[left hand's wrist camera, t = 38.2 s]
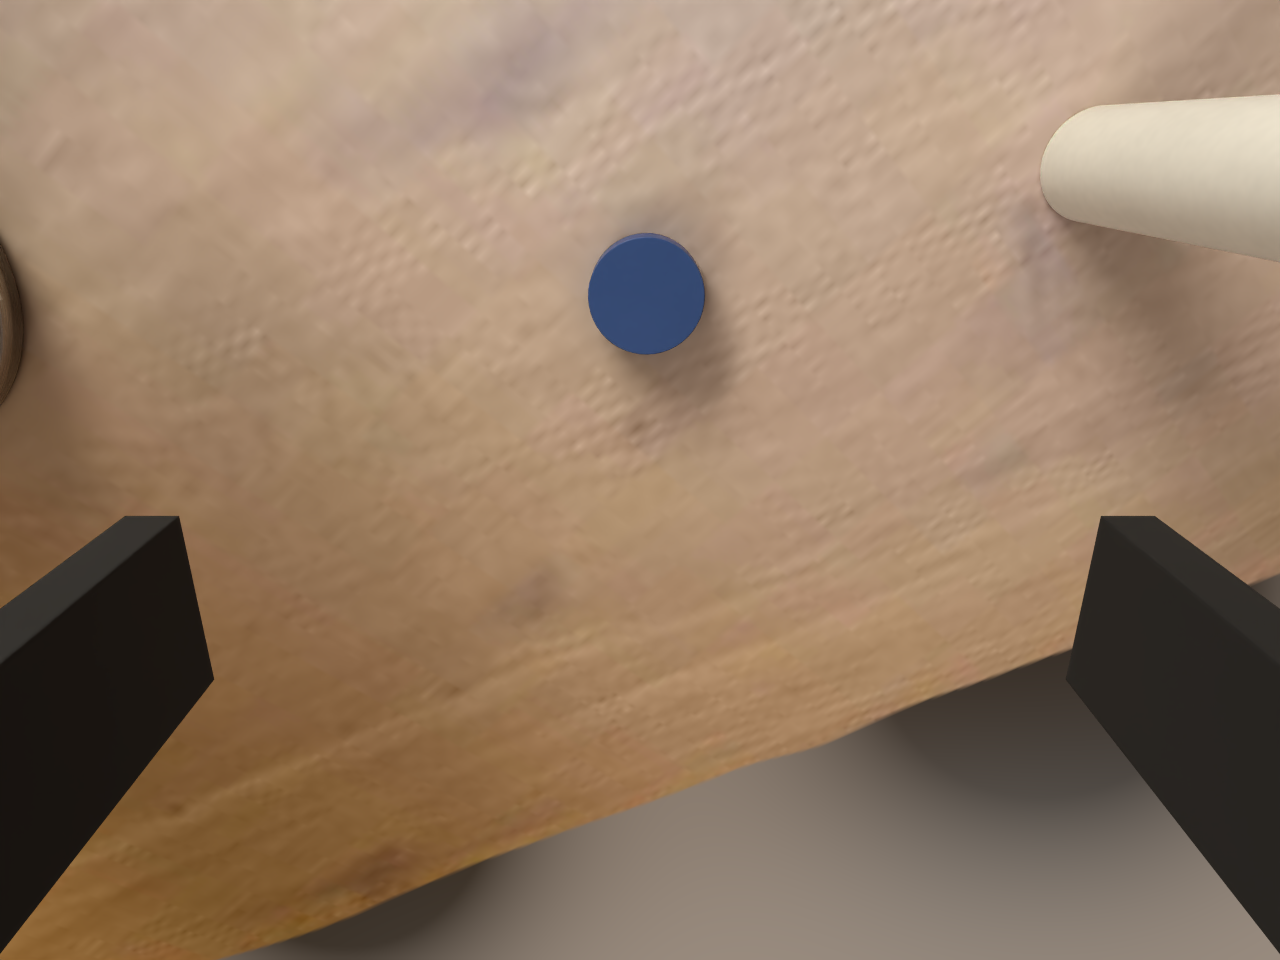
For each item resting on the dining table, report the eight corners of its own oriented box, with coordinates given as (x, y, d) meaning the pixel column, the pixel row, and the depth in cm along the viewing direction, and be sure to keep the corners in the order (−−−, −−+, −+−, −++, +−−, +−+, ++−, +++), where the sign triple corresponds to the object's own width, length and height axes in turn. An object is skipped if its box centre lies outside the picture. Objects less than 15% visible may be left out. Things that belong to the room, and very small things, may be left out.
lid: (566, 292, 38) (563, 298, 37) (644, 208, 37) (644, 211, 35) (647, 368, 40) (647, 377, 38) (725, 289, 38) (728, 295, 37)
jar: (1162, 192, 37) (1531, 233, 22) (1055, 240, 37) (1340, 313, 22) (1136, 84, 35) (1514, 47, 20) (1026, 136, 36) (1309, 139, 21)
